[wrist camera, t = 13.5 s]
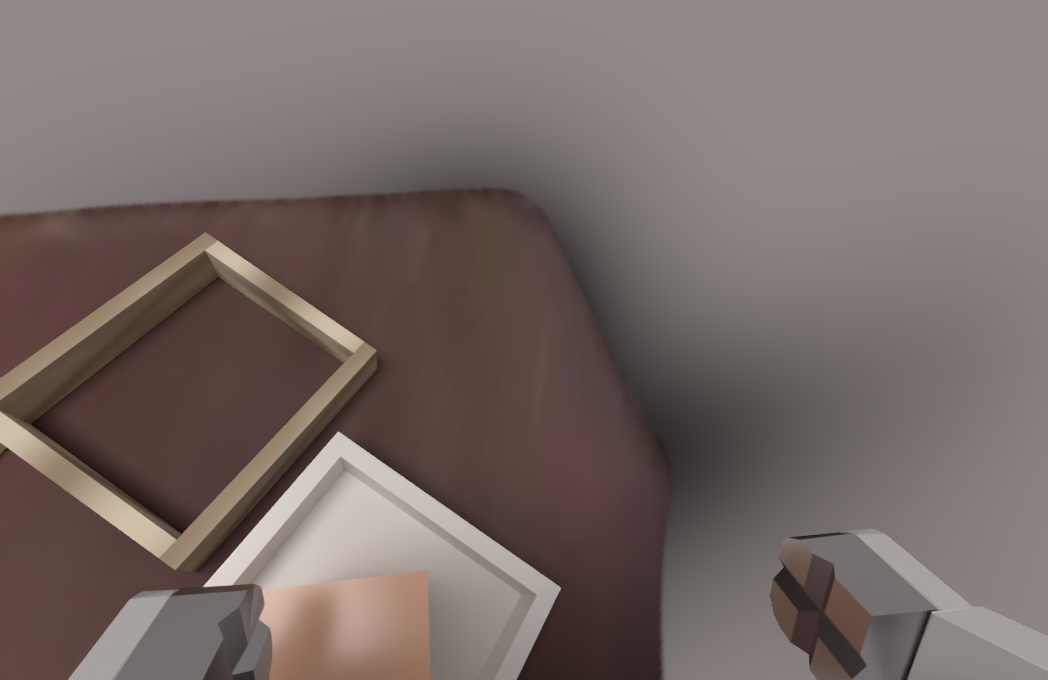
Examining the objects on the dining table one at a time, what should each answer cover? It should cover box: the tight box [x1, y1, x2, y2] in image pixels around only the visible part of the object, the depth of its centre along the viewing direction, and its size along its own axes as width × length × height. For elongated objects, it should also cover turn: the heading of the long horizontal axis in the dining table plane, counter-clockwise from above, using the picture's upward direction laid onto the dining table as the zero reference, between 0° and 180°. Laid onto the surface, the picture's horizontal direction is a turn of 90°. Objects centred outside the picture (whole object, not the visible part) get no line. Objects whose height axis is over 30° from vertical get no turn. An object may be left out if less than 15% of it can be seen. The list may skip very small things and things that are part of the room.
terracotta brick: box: [259, 571, 431, 680], centre depth 17 cm, size 4×4×10 cm
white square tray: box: [203, 432, 561, 680], centre depth 20 cm, size 12×12×4 cm
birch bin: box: [0, 232, 377, 572], centre depth 24 cm, size 11×12×2 cm
